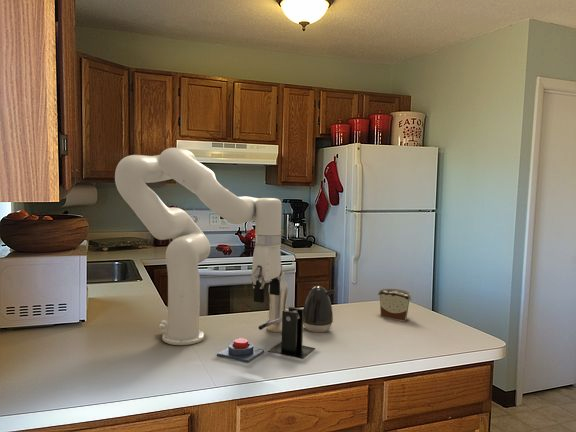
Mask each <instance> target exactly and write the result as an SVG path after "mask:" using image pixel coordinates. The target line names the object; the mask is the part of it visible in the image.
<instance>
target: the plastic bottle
mask: <svg viewBox="0 0 576 432" xmlns="http://www.w3.org/2000/svg"><path fill="white" fill-rule="evenodd" d="M281 273H282V275H281V277H280V278H281V281H280V295H271V294H270V284H269V285H268V287H267V288H268V298H269V302H268V303H269V306H268V307H269V310H268V316H267V320H266V322H267V321H273V320H276V319H279V318H282V311H283V310H286V311H287V300H288V293H289V285H288V284H287V282H286V280H285V277H286V276H285V271H283V270H282V271H281ZM266 328H267V330H268V332H271V333H282V322H279V323H276V324H273V325H270V326H267V327H266Z"/></svg>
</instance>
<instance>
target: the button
mask: <svg viewBox="0 0 576 432" xmlns="http://www.w3.org/2000/svg"><path fill="white" fill-rule="evenodd" d="M233 342H234V347H235V348H247V347H248V342H249V339H248V338H245V337H238V338H235V339H233Z"/></svg>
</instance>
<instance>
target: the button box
mask: <svg viewBox="0 0 576 432" xmlns="http://www.w3.org/2000/svg"><path fill="white" fill-rule="evenodd" d="M264 353H265V349H263V348H258V347H255V346H254V343H252V342H251V341H248V347H247V348H235V347H234V341H232V342H230V343H228V347H225V348H224V349H222V350H220V351H218V352H217V353H216V356H217V357H218V358H219V357H220V358H224V359H229V360H233V361H237V362H241V363H246V364H249V363H250V362H252V361H253V360H255V359H257V358H258V357H260V356H261V355H262V354H264Z"/></svg>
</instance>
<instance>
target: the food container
mask: <svg viewBox="0 0 576 432" xmlns="http://www.w3.org/2000/svg"><path fill="white" fill-rule="evenodd" d="M377 295H378V296H379V308H380V309H379V312H380V317H381V318H384V319H390V320H395V321H398V322H399V321H400V322H404V323H405V322H407V318H408V313H409V306H410V302H411V301H412V294H411V292H409V291H407V290H405V289H399V288H381V289H379V290H378V294H377Z"/></svg>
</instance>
